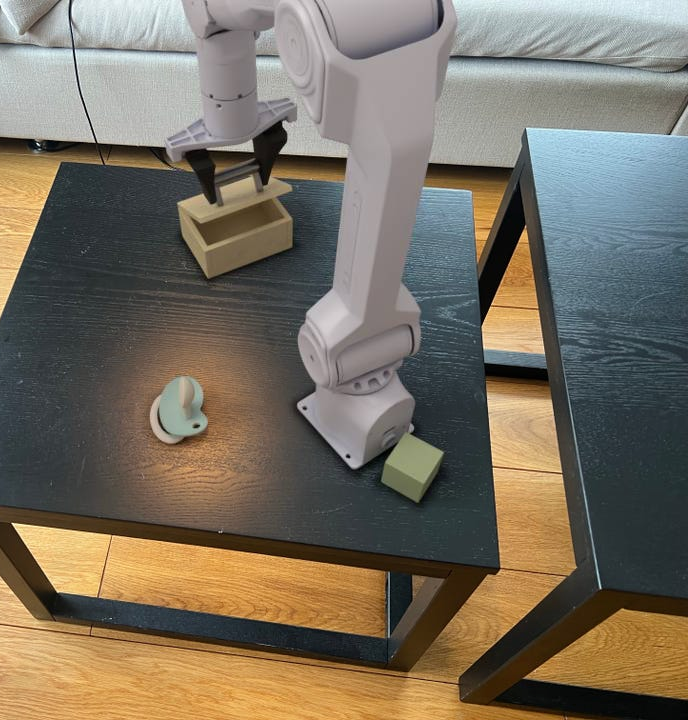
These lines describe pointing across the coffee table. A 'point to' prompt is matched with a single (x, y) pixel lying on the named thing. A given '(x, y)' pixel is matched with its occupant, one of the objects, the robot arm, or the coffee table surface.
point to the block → (411, 467)
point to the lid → (234, 192)
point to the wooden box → (238, 236)
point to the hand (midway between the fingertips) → (236, 189)
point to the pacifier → (178, 410)
